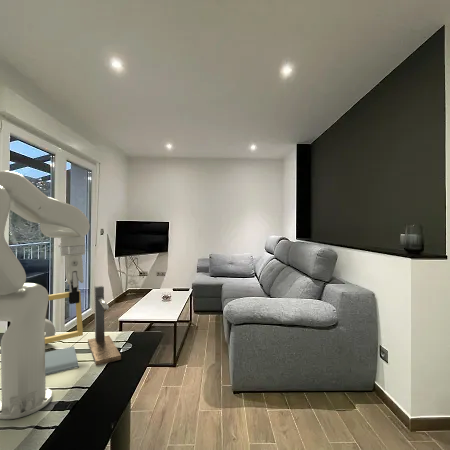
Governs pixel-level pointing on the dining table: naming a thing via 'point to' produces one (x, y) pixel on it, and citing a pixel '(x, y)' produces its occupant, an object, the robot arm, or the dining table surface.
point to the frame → (79, 320)
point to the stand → (102, 333)
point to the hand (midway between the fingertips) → (74, 302)
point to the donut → (49, 328)
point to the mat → (60, 360)
